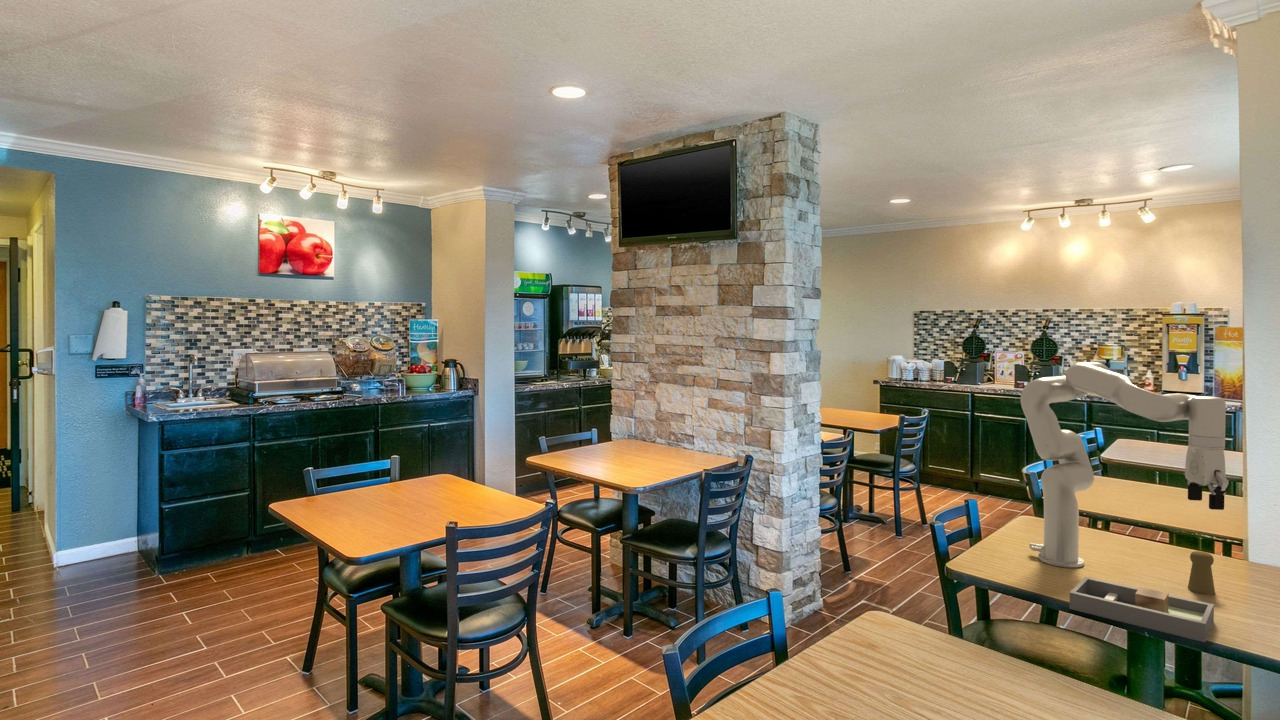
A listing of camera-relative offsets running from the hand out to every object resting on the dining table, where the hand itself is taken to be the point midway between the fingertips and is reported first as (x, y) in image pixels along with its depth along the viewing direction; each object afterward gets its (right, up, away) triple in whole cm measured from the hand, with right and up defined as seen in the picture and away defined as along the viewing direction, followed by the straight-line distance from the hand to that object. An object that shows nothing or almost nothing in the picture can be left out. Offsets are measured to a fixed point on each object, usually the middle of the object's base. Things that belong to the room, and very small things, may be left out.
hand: (1205, 504), depth 180 cm
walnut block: (-21, -26, -8) cm, 34 cm away
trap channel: (-22, -28, -6) cm, 36 cm away
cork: (+7, -27, +10) cm, 29 cm away
